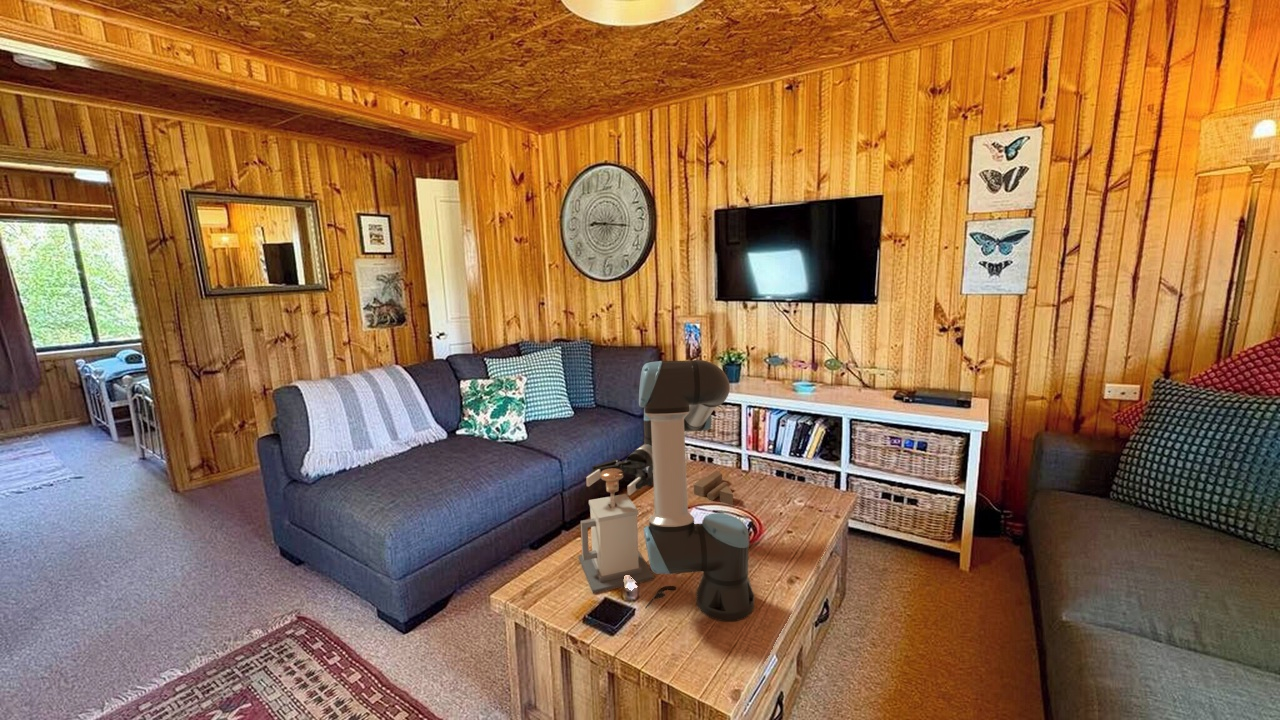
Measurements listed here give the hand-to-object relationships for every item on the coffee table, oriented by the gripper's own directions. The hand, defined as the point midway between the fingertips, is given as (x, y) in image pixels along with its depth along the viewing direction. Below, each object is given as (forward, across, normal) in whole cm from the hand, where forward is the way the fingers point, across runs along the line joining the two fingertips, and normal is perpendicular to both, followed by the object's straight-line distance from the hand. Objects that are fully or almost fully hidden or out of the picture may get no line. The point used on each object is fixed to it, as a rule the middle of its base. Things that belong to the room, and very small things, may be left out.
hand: (607, 486), depth 144 cm
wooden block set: (-65, -12, -28) cm, 72 cm away
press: (-1, +1, -26) cm, 26 cm away
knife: (+5, -18, -28) cm, 33 cm away
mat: (-2, 0, -27) cm, 27 cm away
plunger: (-2, 0, -20) cm, 20 cm away
